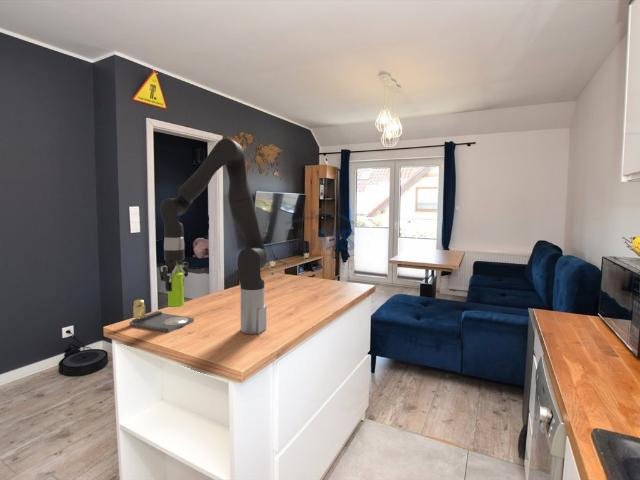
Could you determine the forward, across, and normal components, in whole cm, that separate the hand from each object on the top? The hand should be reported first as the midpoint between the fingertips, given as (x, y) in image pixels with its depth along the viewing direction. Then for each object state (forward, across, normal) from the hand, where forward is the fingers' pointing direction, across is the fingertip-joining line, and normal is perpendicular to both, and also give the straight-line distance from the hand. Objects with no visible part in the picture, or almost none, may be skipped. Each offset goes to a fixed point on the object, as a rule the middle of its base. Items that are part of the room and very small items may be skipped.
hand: (175, 289), depth 140 cm
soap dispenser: (+7, 0, 0) cm, 7 cm away
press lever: (+12, -5, +14) cm, 19 cm away
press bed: (+15, -1, +6) cm, 16 cm away
